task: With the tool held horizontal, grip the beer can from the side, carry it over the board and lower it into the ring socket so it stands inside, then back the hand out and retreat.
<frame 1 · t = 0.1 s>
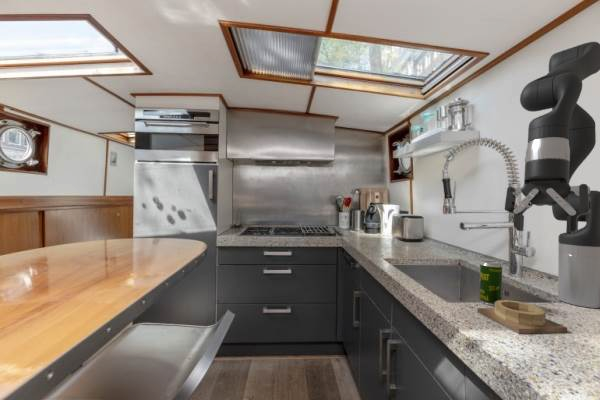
hand: (543, 232, 61), 22 cm above the countertop, tool pointing down, fingers open, 8 cm apart
beer can: (490, 304, 79), on the countertop
socket board: (518, 321, 67), on the countertop
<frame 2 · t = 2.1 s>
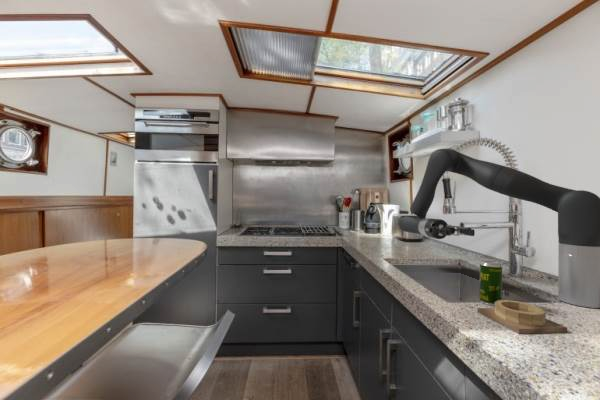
hand: (461, 232, 91), 19 cm above the countertop, tool horizontal, fingers open, 8 cm apart
nothing on the countertop moved.
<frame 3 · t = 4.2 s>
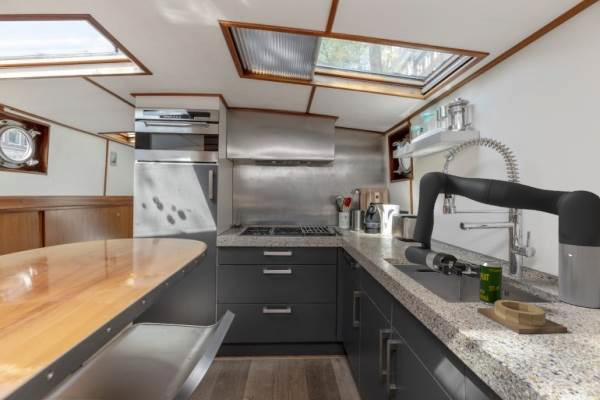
hand: (473, 273, 86), 7 cm above the countertop, tool horizontal, fingers open, 8 cm apart
nothing on the countertop moved.
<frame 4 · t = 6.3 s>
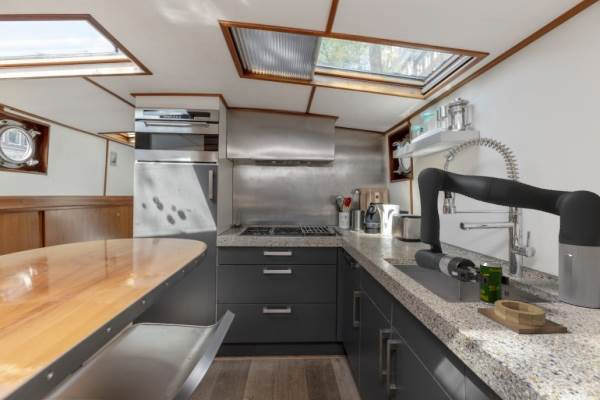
hand: (498, 281, 77), 7 cm above the countertop, tool horizontal, fingers closed on beer can, 5 cm apart
beer can: (490, 304, 79), on the countertop, touching gripper
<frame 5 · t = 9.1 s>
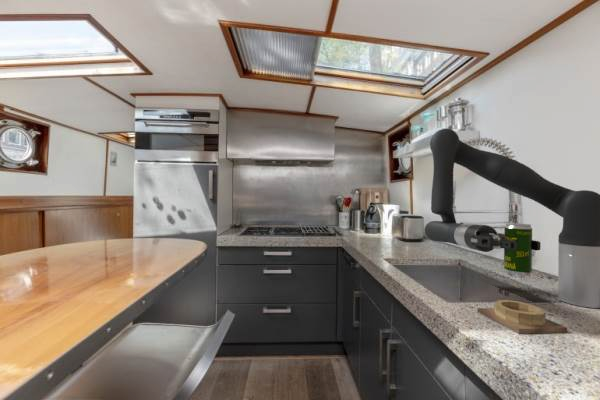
hand: (527, 245, 65), 19 cm above the countertop, tool horizontal, fingers closed on beer can, 5 cm apart
beer can: (517, 273, 67), point 11 cm above the countertop, touching gripper
when the fingers open (9 cm above the countertop, at t = 11.8 s): beer can drops 1 cm, resting on socket board.
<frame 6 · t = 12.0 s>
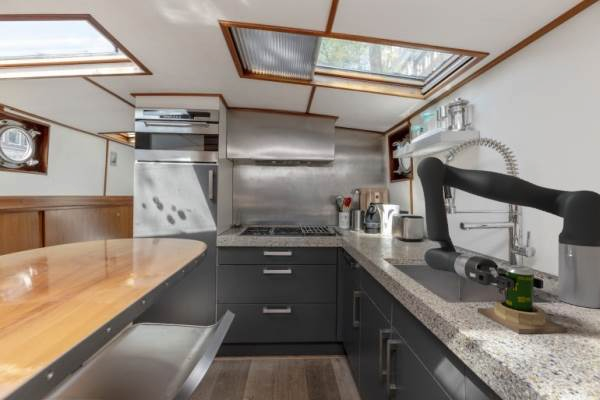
hand: (527, 284, 65), 9 cm above the countertop, tool horizontal, fingers open, 7 cm apart
beer can: (518, 317, 67), point 1 cm above the countertop, touching socket board
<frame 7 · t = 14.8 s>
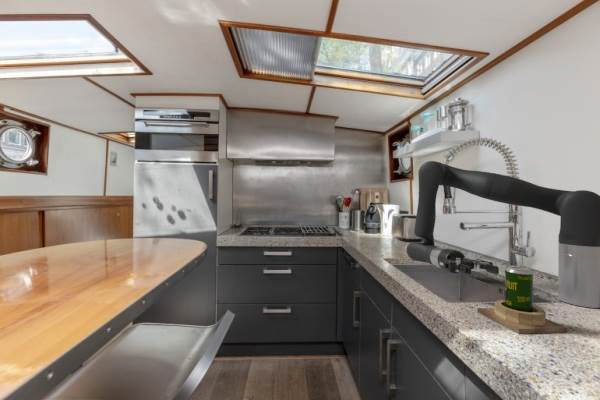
hand: (483, 270, 78), 10 cm above the countertop, tool horizontal, fingers open, 8 cm apart
nothing on the countertop moved.
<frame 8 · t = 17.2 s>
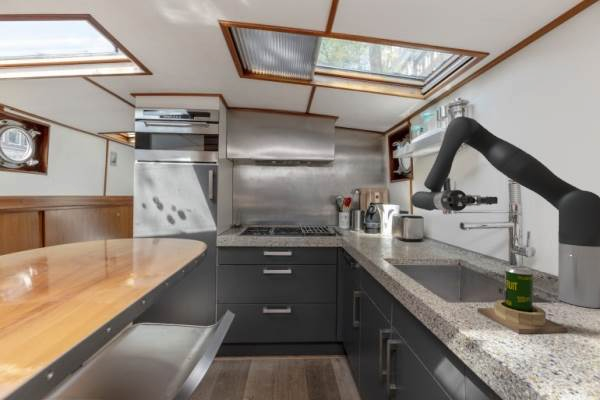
hand: (484, 199, 85), 30 cm above the countertop, tool horizontal, fingers open, 8 cm apart
nothing on the countertop moved.
at the end: beer can 0.1 cm off-centre on the socket board, point 0.8 cm above the socket board's base; beer can tilted 0°; the gripper is holding nothing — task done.
